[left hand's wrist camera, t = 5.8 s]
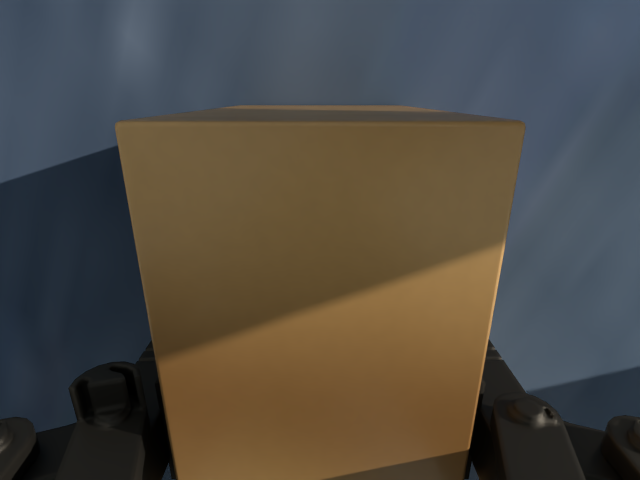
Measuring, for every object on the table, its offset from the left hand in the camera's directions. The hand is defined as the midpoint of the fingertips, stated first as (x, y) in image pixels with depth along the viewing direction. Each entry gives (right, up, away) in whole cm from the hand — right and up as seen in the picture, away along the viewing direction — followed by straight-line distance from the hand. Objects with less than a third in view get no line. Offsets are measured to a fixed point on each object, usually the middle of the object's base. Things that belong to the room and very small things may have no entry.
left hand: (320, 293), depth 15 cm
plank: (0, -24, +9) cm, 26 cm away
